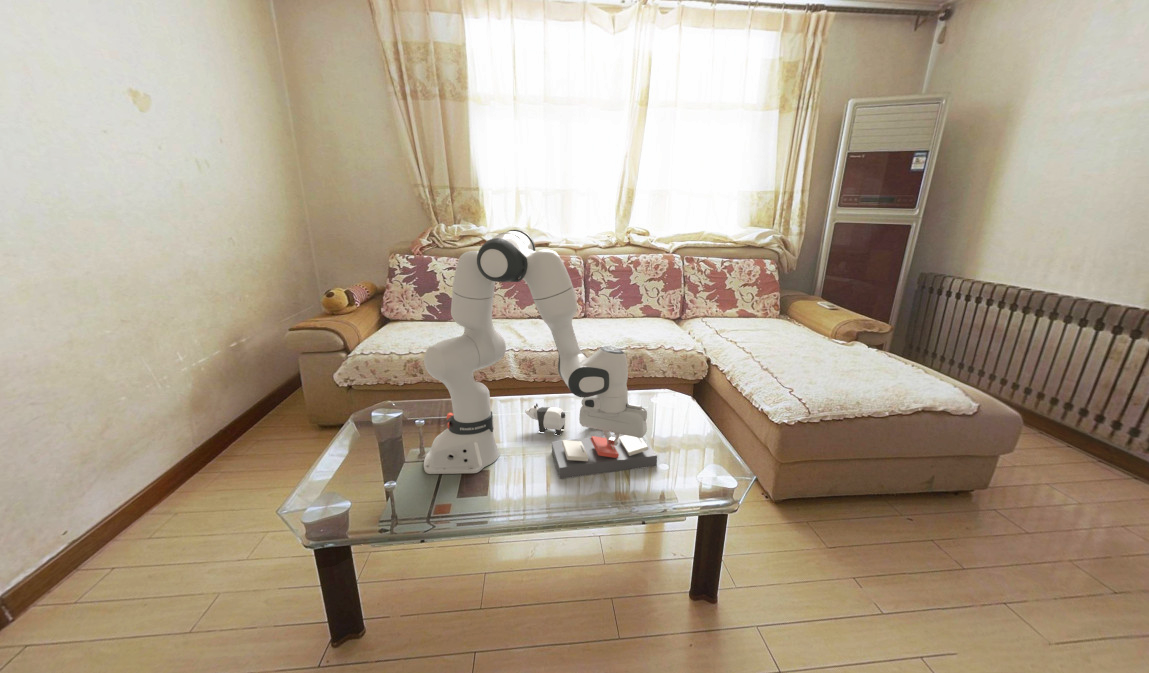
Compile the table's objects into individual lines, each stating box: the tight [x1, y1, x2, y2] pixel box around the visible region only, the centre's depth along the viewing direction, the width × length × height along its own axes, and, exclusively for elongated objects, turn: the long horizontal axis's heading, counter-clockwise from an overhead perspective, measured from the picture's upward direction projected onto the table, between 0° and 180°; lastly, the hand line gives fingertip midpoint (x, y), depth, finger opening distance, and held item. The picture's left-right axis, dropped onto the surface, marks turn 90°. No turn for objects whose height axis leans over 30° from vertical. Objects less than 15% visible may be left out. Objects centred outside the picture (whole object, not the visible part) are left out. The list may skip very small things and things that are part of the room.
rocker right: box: [619, 435, 648, 456], centre depth 127 cm, size 6×10×1 cm, turn 12°
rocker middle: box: [590, 435, 619, 458], centre depth 125 cm, size 6×10×1 cm, turn 11°
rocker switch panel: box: [551, 434, 658, 480], centre depth 128 cm, size 29×15×4 cm, turn 101°
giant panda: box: [524, 402, 566, 436], centre depth 145 cm, size 15×6×10 cm, turn 72°
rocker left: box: [561, 439, 589, 461], centre depth 123 cm, size 6×10×1 cm, turn 11°
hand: (612, 444), depth 125 cm, fingers closed
